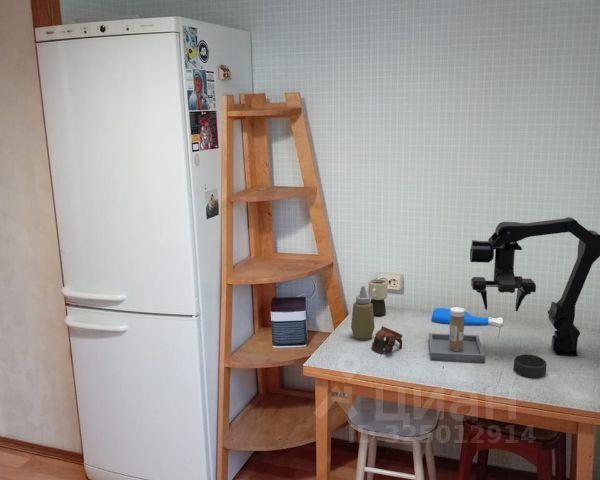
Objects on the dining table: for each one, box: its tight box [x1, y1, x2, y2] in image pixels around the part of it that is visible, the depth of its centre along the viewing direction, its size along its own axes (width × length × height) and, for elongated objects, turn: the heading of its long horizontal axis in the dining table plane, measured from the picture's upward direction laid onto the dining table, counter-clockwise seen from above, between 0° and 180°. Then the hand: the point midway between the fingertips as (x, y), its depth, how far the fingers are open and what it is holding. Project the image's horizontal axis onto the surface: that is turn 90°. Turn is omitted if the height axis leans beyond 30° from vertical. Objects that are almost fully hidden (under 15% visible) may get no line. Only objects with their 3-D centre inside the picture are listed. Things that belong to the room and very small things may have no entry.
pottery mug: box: [371, 326, 403, 355], centre depth 189 cm, size 12×10×8 cm
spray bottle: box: [431, 307, 504, 328], centre depth 213 cm, size 3×11×24 cm
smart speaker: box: [513, 354, 548, 379], centre depth 172 cm, size 9×9×4 cm
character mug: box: [367, 278, 389, 316], centre depth 220 cm, size 11×7×13 cm, turn 153°
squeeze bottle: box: [350, 285, 376, 341], centre depth 198 cm, size 8×8×18 cm
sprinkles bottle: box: [448, 306, 466, 351], centre depth 186 cm, size 5×5×13 cm
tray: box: [428, 332, 486, 364], centre depth 187 cm, size 16×16×2 cm
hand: (501, 310), depth 186 cm, fingers open, 9 cm apart
